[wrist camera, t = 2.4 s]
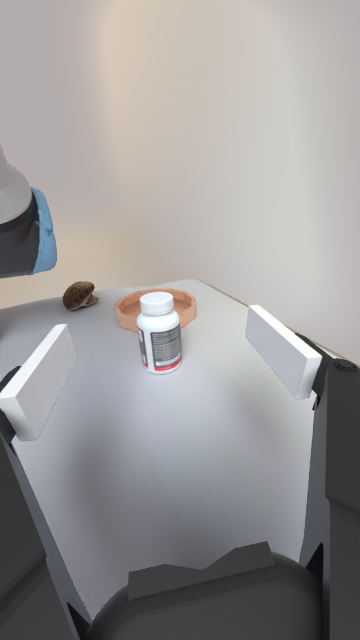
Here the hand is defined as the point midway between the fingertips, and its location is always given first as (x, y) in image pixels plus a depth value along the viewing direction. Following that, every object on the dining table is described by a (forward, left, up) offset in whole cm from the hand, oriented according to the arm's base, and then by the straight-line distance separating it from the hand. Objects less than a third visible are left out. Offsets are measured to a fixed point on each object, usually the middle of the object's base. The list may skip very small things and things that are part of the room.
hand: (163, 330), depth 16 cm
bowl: (-18, +19, -11) cm, 29 cm away
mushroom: (-35, +13, -11) cm, 39 cm away
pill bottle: (-7, +7, -11) cm, 15 cm away
